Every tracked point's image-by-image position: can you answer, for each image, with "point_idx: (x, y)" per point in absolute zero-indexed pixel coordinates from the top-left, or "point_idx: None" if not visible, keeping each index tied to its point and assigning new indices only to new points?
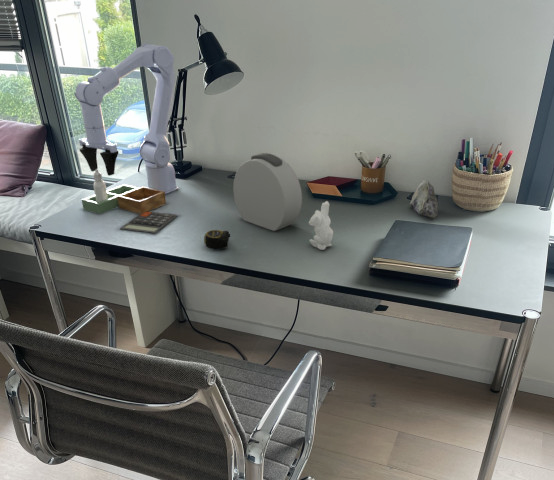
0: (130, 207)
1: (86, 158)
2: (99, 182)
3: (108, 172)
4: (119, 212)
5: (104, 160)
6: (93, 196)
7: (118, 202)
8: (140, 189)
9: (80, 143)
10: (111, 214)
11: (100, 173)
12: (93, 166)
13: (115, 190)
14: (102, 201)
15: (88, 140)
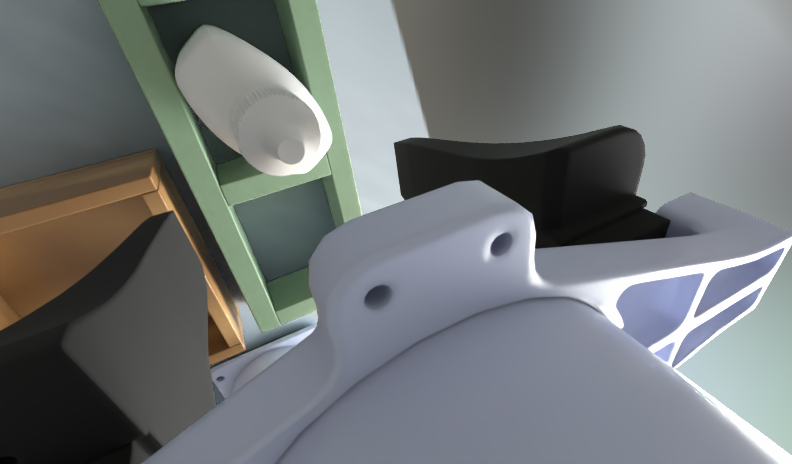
0: (21, 190)
1: (486, 150)
2: (227, 107)
3: (139, 227)
4: (61, 110)
5: (95, 294)
6: (307, 59)
7: (151, 160)
8: (221, 329)
9: (712, 212)
10: (43, 42)
11: (262, 166)
12: (416, 176)
13: (341, 223)
14: (145, 45)
15: (562, 388)
